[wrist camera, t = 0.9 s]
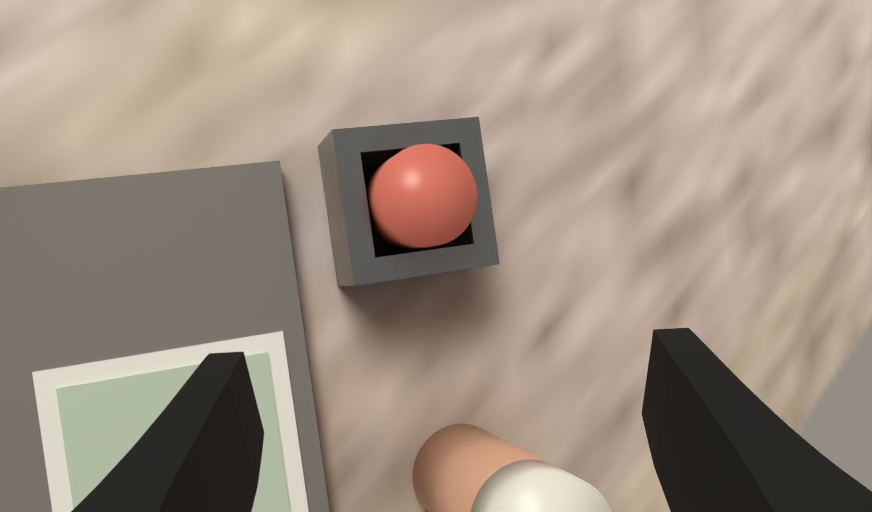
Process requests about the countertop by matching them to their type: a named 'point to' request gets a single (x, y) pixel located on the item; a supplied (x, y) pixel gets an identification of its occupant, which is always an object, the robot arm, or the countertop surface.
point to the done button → (421, 197)
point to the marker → (494, 477)
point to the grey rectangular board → (146, 325)
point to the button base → (350, 206)
